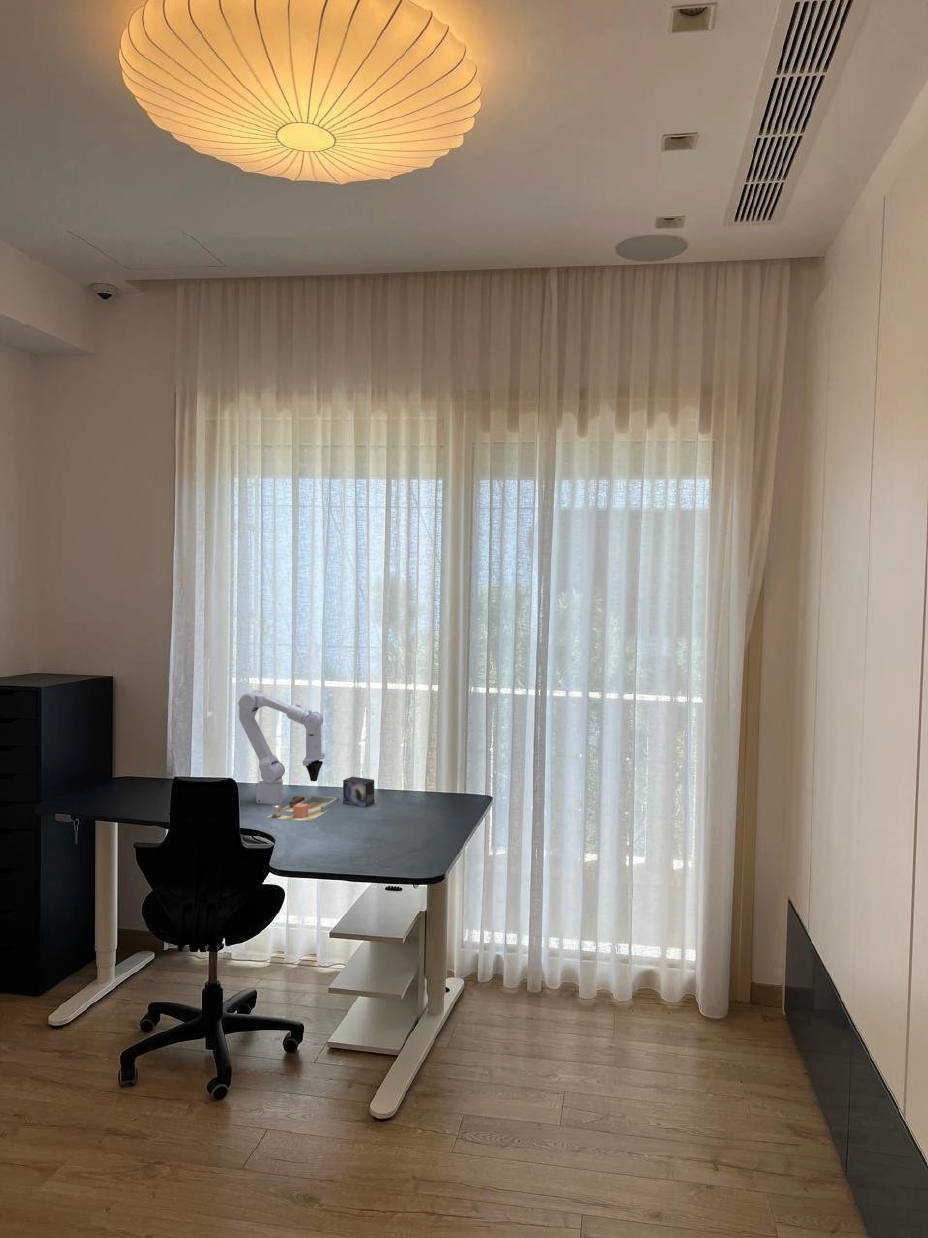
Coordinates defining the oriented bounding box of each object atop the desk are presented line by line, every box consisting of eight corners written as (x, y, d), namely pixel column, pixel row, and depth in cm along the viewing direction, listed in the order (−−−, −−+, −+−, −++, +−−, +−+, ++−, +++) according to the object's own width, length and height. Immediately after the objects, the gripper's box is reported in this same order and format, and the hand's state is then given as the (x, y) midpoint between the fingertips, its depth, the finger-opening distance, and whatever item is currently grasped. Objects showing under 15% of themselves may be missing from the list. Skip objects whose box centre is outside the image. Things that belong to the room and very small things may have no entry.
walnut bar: (284, 806, 334) (284, 801, 334) (294, 801, 342) (294, 796, 342) (294, 807, 333) (294, 802, 333) (304, 802, 341) (304, 797, 341)
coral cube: (293, 817, 320) (293, 806, 320) (298, 814, 324) (298, 803, 324) (303, 818, 319) (303, 807, 319) (308, 815, 323) (308, 804, 323)
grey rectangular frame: (295, 810, 330) (295, 804, 330) (312, 801, 343) (312, 795, 343) (323, 812, 327) (323, 807, 327) (338, 803, 340) (338, 798, 340)
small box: (342, 807, 339) (341, 779, 338) (352, 803, 344) (351, 776, 344) (365, 810, 334) (365, 782, 333) (375, 806, 340) (375, 779, 339)
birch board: (266, 820, 320) (266, 817, 320) (299, 802, 345) (299, 799, 345) (309, 824, 315) (309, 821, 315) (340, 806, 340) (340, 803, 340)
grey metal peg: (270, 817, 320) (270, 806, 320) (274, 815, 323) (274, 804, 323) (278, 818, 319) (278, 807, 319) (282, 815, 322) (282, 804, 322)
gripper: (314, 749, 329) (315, 786, 330) (331, 742, 343) (331, 777, 344) (297, 748, 331) (297, 784, 332) (314, 741, 345) (314, 776, 346)
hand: (313, 780), depth 338 cm, fingers closed
